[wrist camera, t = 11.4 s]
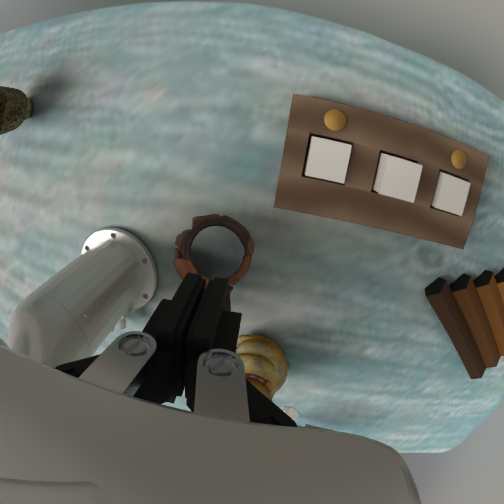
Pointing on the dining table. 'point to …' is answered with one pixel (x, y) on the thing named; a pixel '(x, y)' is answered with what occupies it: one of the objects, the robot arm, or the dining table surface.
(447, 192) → the button
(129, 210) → the dining table surface
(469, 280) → the pan flute
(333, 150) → the button
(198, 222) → the pottery mug
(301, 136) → the button board
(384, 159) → the button middle
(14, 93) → the dark tapered rough piece
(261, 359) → the decorative figurine
